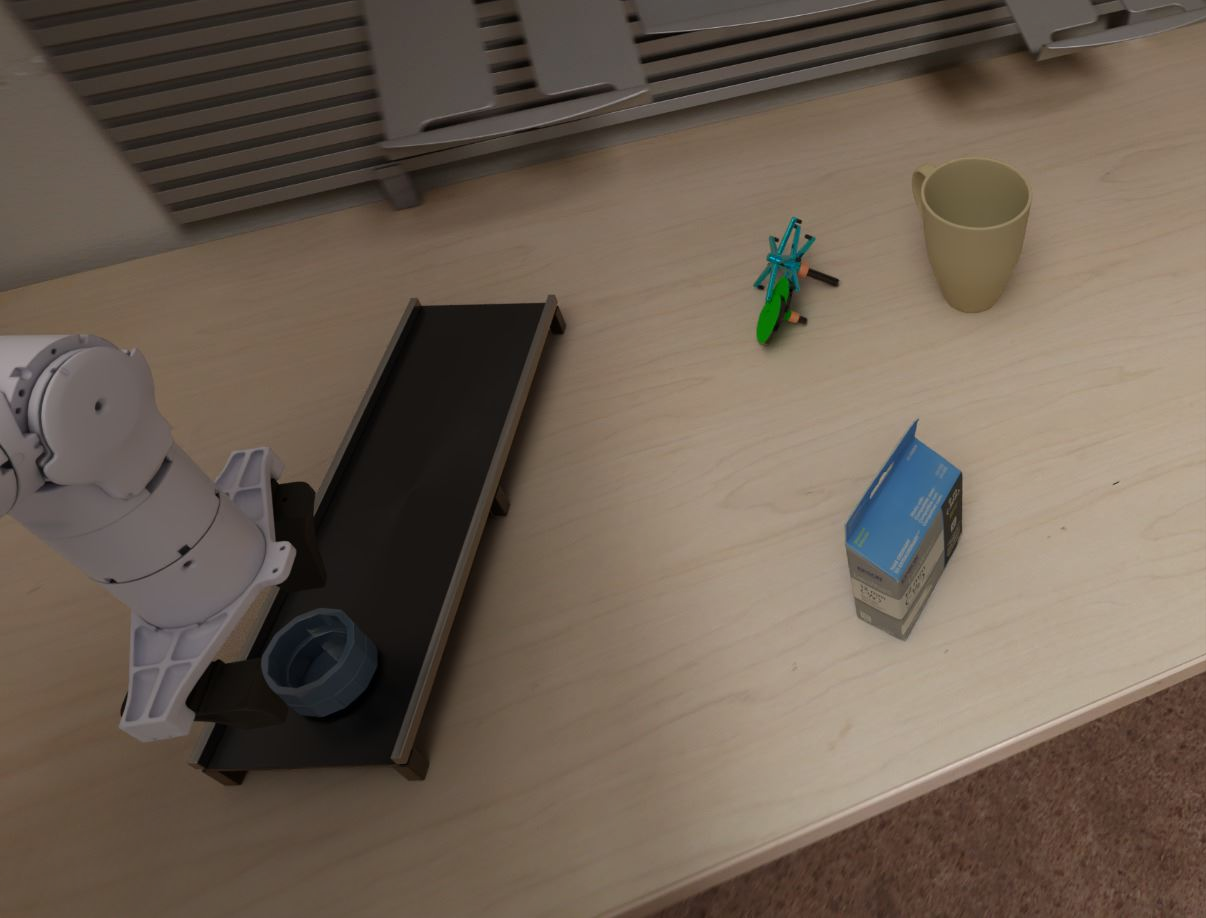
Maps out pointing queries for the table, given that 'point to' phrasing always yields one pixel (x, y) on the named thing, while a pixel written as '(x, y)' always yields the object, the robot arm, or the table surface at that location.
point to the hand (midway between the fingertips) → (288, 648)
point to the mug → (972, 226)
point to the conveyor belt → (400, 531)
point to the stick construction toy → (785, 282)
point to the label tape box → (903, 535)
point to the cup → (319, 662)
